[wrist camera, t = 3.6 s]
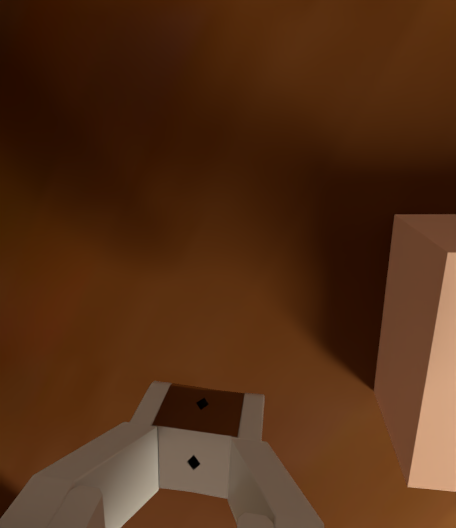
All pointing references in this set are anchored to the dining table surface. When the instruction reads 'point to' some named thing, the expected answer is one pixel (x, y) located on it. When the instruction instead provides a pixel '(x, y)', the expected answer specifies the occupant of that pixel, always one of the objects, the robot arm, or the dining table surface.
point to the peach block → (420, 349)
